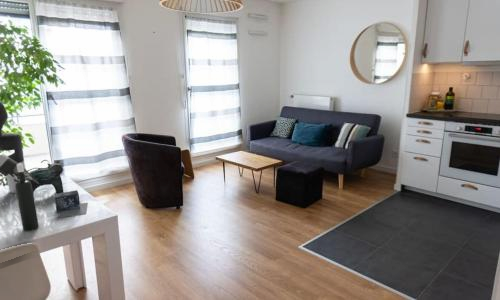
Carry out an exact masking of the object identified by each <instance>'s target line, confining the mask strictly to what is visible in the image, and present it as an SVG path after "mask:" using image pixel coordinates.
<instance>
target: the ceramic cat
mask: <svg viewBox="0 0 500 300" xmlns="http://www.w3.org/2000/svg"><path fill="white" fill-rule="evenodd" d="M43 162H48V163H47V165H48V166H47V167H33V168H30V169H28V170H27V171H28V172H29V173H30V174H31V176H32V179H34V180H35V181H37V182H38V183H39V185H38V186H37V187H34V186H32V190H33V196H34V193H35V191H36V190H37V189H38V188H39V187H42V186H47V185H48V186H49V185H50V186H51V185H52V186H53V188H54V190H55V194H58V193H64V186H63V181H62V177H61V174H62V173H63V172H64V171H63V170H64V169H63V166H62V164H61V163H60V161H59V160H56V162H54V163H50V161H49V160H48V159H44V160H41V162H40V163H41V164H42V163H43ZM34 169H35V170H34ZM31 170H32V171H31Z"/></svg>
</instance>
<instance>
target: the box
mask: <svg viewBox="0 0 500 300" xmlns="http://www.w3.org/2000/svg"><path fill="white" fill-rule="evenodd" d="M79 195H80V193H79V190H78V189H76V190H72V191H63V192H61V193H58V194H57V193H54V194H53V196H54V201H55V202H54V203H55V211H56V212H57V213H60V212H62V211H66V210H71V209H76V208H80V203H81V202H80V196H79Z"/></svg>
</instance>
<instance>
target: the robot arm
mask: <svg viewBox="0 0 500 300" xmlns="http://www.w3.org/2000/svg"><path fill="white" fill-rule="evenodd" d="M7 120H8V112H7V110H6V107H5V105H4V103H3V102H2V101H1V100H0V151H3V152H4V151H14V152H12V154H8V155H6V154H4V153H2V152H0V174H1V175H2V176H5V177H6V180H7V185H8V191H9V193H10V194H17V193H16V188H15V185H16V183H17V182H19V181H20V179H19V174H18V170H17V164H19V163H21V164H22V163H23V168H24V175H25V180H28V181H30V182H31V184H32V186H34V187H37V186H38V185H39V183H38V182H37V181H35V180H34V179H32V176H31V174H30V173H29V172H30V171H28V170H27V169H26V164H25V157H24V149H23V143H22V137H21V135H20V134H19V133H17V132H13V133H11V132H10V133H8V132H7V133H3V132H2V129H3V127H4V126H5V124H6V122H7Z"/></svg>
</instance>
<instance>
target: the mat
mask: <svg viewBox="0 0 500 300" xmlns="http://www.w3.org/2000/svg"><path fill="white" fill-rule="evenodd" d="M88 205H89V202H80V208H76V209H71V210H66V211H62V212H58V216H57V218H58V219H60V218H67V217H74V216H81V215H86V214H87V211H88V210H87V209H88Z"/></svg>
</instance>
